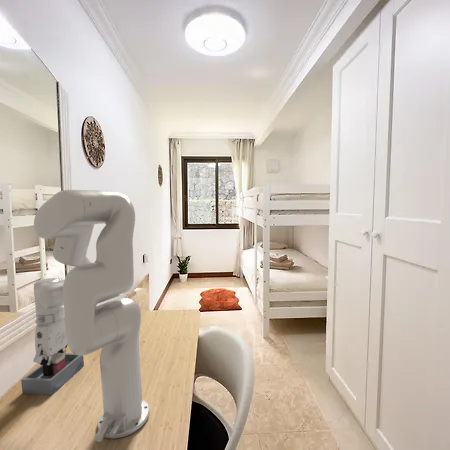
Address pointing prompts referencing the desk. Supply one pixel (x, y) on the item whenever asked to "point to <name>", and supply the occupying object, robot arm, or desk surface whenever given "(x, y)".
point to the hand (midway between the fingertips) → (55, 369)
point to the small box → (57, 363)
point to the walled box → (49, 386)
